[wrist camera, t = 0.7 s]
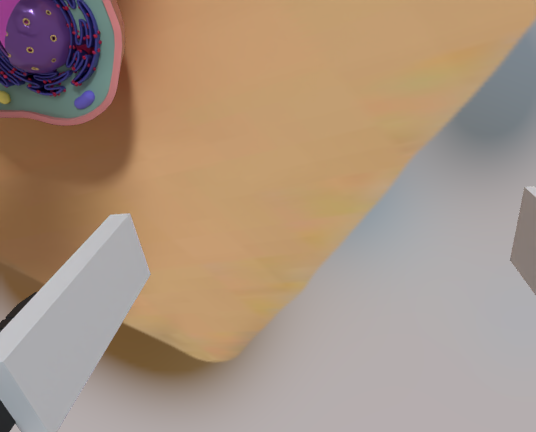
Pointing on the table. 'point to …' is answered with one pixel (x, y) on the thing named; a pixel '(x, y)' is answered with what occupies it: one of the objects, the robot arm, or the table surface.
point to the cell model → (59, 59)
